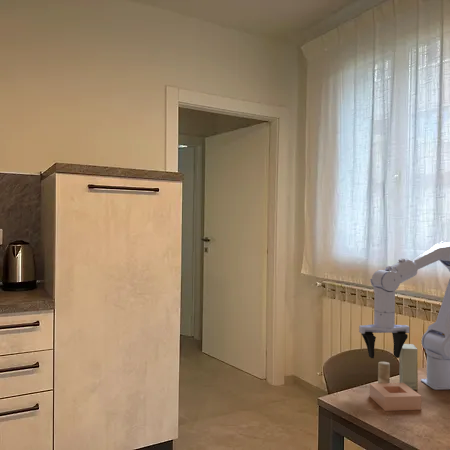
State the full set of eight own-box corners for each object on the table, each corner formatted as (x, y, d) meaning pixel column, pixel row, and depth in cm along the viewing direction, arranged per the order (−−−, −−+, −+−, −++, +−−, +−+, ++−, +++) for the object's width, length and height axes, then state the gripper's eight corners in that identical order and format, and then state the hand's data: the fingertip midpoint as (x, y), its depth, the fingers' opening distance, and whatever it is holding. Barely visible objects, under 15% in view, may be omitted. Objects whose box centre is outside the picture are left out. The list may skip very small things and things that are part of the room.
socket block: (403, 395, 129) (403, 382, 129) (421, 409, 119) (421, 396, 119) (369, 396, 128) (369, 383, 128) (384, 410, 118) (385, 397, 118)
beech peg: (386, 388, 134) (386, 361, 134) (391, 392, 131) (391, 364, 131) (376, 388, 134) (376, 361, 134) (380, 392, 131) (381, 365, 130)
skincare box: (418, 390, 132) (418, 349, 132) (402, 389, 133) (402, 348, 133) (413, 383, 139) (414, 343, 139) (398, 381, 140) (398, 342, 139)
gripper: (366, 314, 128) (365, 361, 128) (414, 313, 129) (414, 360, 129) (356, 309, 135) (356, 354, 135) (403, 309, 136) (402, 353, 136)
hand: (383, 357), depth 132 cm, fingers open, 7 cm apart
